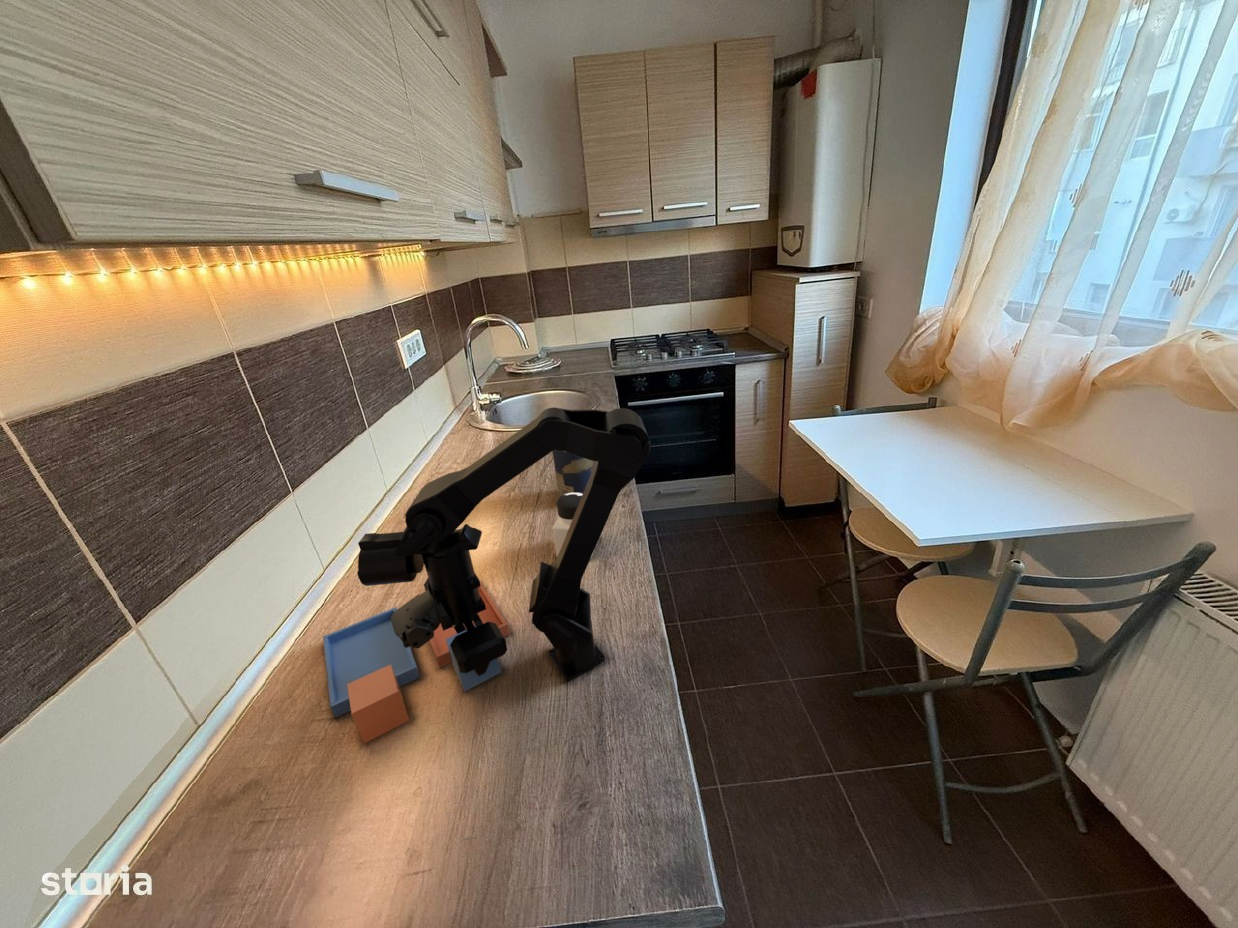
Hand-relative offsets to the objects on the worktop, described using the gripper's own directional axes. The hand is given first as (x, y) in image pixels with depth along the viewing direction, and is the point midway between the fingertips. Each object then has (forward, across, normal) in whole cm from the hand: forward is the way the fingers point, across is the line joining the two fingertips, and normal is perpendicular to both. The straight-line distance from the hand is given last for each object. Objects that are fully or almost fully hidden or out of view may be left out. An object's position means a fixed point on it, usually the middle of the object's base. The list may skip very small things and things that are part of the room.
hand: (473, 656), depth 70 cm
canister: (+4, -37, +38) cm, 53 cm away
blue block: (+2, +1, 0) cm, 2 cm away
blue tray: (+2, -11, -13) cm, 17 cm away
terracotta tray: (+2, -11, +1) cm, 11 cm away
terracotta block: (+2, +1, -13) cm, 13 cm away
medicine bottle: (+3, -17, +27) cm, 32 cm away
